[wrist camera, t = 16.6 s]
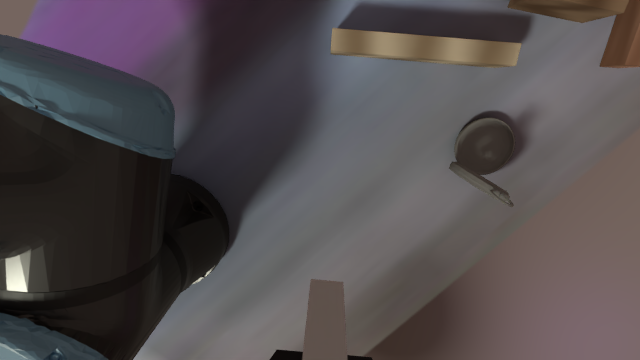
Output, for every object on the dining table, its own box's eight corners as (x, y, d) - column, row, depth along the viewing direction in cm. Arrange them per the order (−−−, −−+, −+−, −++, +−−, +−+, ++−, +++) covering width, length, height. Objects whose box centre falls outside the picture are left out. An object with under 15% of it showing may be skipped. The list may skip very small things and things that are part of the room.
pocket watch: (513, 115, 35) (581, 127, 25) (505, 185, 38) (564, 219, 28) (440, 119, 35) (480, 132, 26) (436, 188, 38) (471, 223, 28)
